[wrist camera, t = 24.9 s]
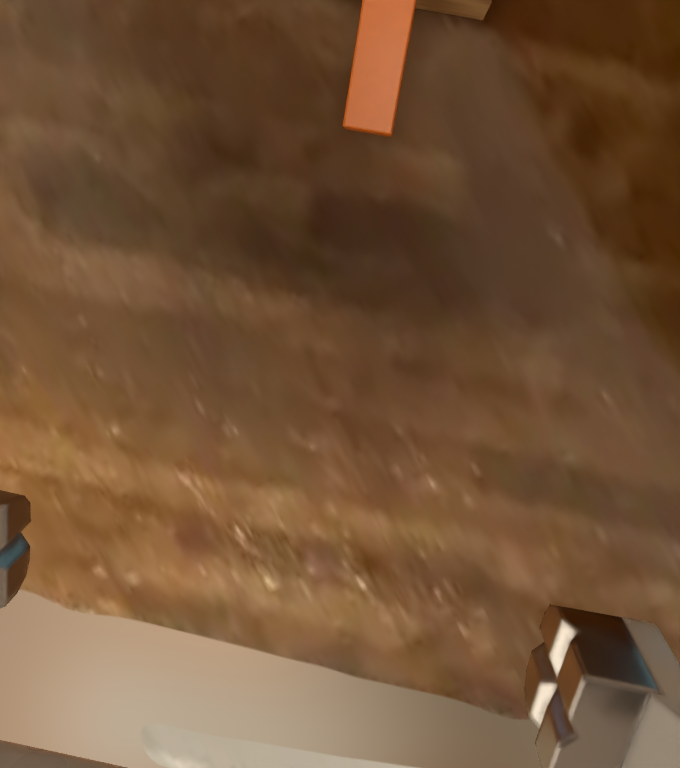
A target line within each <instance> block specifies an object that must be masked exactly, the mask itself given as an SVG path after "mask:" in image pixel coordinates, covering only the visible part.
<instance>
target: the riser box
mask: <svg viewBox="0 0 680 768" xmlns="http://www.w3.org/2000/svg"><path fill="white" fill-rule="evenodd" d="M492 1H493V0H417V2H416V9H422V10H427V11H433V12H439V13H444V14H450V15H456V16H461V17H467V18H473V19H479V20H483V19H484V17H485V15H486V13H487V11H488V9H489V7H490V5H491V3H492Z"/></svg>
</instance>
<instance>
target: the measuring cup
mask: <svg viewBox="0 0 680 768" xmlns="http://www.w3.org/2000/svg"><path fill="white" fill-rule="evenodd" d="M416 2H417V0H363V1H362V7H361V13H360V20H359V26H358V32H357V39H356V45H355V51H354V57H353V64H352V70H351V76H350V83H349V89H348V95H347V102H346V108H345V114H344V120H343V126H344V127H345V128H346V129H348V130H353V131H359V132H365V133H370V134H376V135H382V136H387V137H391V136H392V134H393V128H394V123H395V117H396V112H397V106H398V101H399V96H400V90H401V85H402V79H403V74H404V68H405V63H406V57H407V52H408V46H409V41H410V35H411V30H412V24H413V19H414V13H415V8H416Z"/></svg>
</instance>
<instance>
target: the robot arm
mask: <svg viewBox="0 0 680 768" xmlns="http://www.w3.org/2000/svg"><path fill="white" fill-rule="evenodd" d="M30 522H31V514H30V502H29V501H28V499H27V498H26V497H25V496H24V495H19V494H15V493H10V492H6V491H2V490H0V608H2V607H5V606H6V605H7V604H8V603H9V602H10V601H11V599H12V598H13V597H14V596H15V595H16V594H17V592H18V590H19V588H20V586H21V584H22V583H23V581H24V579H25V577H26V573H27V569H28V565H29V561H30V546H29V544H28V543H27V541H26V539H25V538H24V536H23V535H22V533H21V531H22V530H23V529H24V528H25V527H26V526H27V525H28V524H29V523H30ZM540 629H541V633H542V636H543V639H544V642H543V643H542V644H540V645H539V646H538V647H536V648H535V649H533V650H532V652H531V655H530V658H529V662H528V665H527V669H526V678H525V688H524V689H525V702H526V707H527V712H528V716H529V718H530V719H531V720H532V721H533V722H534V723H535V724H536V725H537V726H538V728H539V732H538V735H537V738H536V741H535V745H536V749H537V753H538V757H539V761H540V765H541V768H680V664H679V663H678V661H677V659H676V658H675V656H674V654H673V652H672V651H671V649H670V647H669V646H668V644H667V642H666V641H665V639H664V637H663V635H662V634H661V632H660V630H659V629H658V627H657V626H655V625H654V624H653V623H651V622H649V621H643V620H637V619H631V618H625V617H619V616H617V617H616V616H611V615H605V614H600V613H594V612H589V611H583V610H578V609H572V608H567V607H561V606H556V605H551V604H550V605H549V607H548V608H547V610H546V611H545V613H544V616H543V618H542V621H541V624H540ZM0 768H126V767H122V766H117V765H112V764H108V763H104V762H99V761H94V760H90V759H85V758H81V757H76V756H71V755H67V754H62V753H58V752H53V751H48V750H44V749H39V748H35V747H30V746H25V745H21V744H16V743H12V742H7V741H2V740H0Z"/></svg>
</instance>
